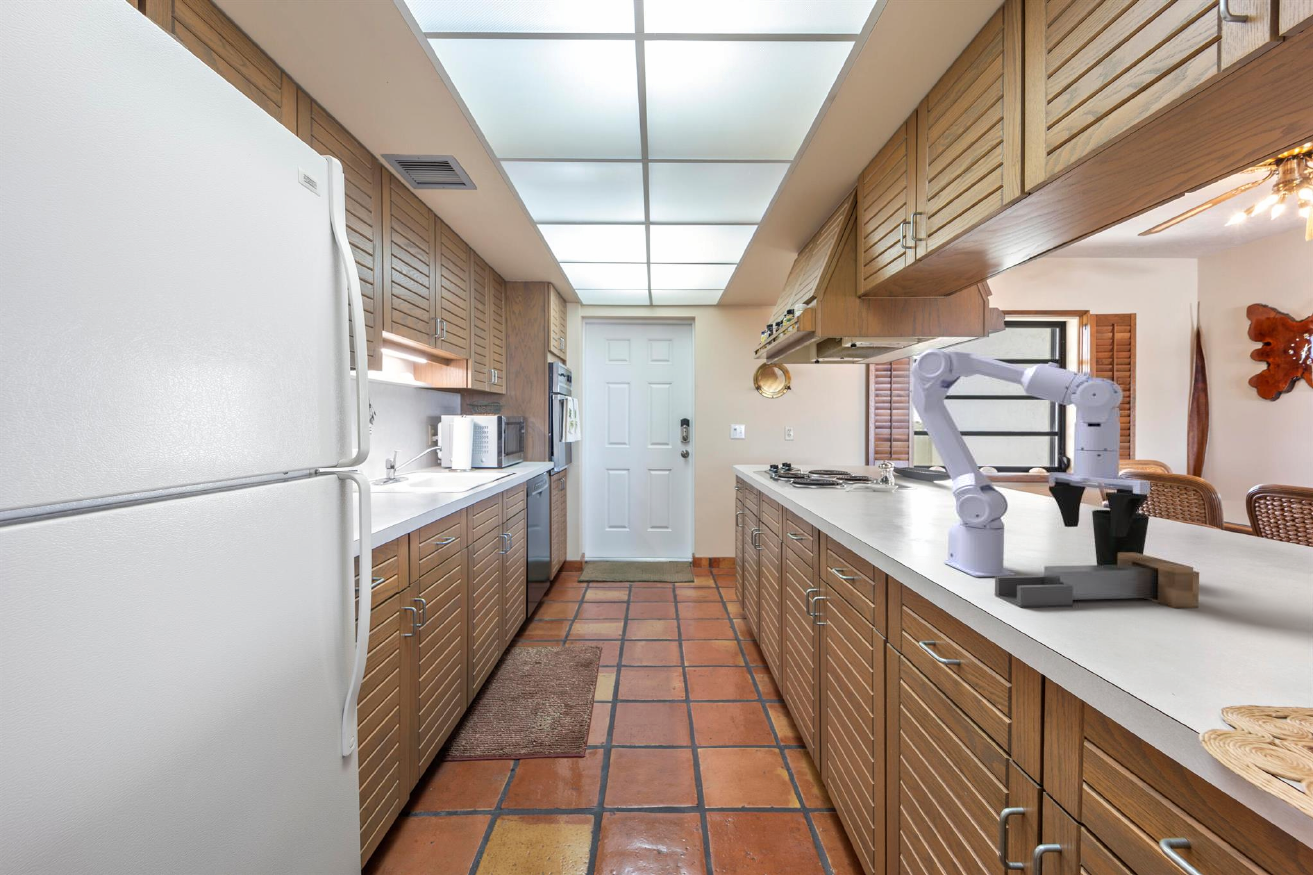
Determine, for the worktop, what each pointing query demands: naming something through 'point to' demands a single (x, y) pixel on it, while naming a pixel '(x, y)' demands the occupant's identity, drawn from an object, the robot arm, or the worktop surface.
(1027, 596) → the grey u-shaped channel
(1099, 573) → the bar
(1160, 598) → the socket
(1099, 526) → the cup
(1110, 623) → the worktop surface
